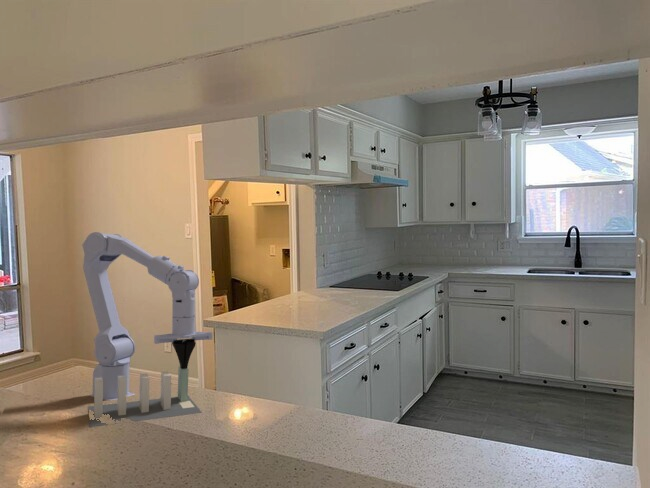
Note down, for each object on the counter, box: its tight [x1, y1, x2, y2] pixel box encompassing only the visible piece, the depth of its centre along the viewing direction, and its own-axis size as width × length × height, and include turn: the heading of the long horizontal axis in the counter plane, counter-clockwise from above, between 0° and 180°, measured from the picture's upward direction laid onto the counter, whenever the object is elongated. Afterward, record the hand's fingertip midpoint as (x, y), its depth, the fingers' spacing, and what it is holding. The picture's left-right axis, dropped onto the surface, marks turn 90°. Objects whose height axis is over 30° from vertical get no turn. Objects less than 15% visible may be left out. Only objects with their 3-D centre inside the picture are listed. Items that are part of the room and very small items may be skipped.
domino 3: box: [138, 373, 150, 413], centre depth 119 cm, size 2×5×8 cm, turn 26°
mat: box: [87, 395, 203, 428], centre depth 119 cm, size 24×17×1 cm
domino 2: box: [116, 375, 127, 415], centre depth 117 cm, size 2×5×8 cm, turn 26°
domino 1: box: [93, 378, 104, 418], centre depth 114 cm, size 2×5×8 cm, turn 26°
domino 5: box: [177, 365, 189, 402], centre depth 128 cm, size 2×5×8 cm, turn 26°
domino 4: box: [160, 371, 172, 410], centre depth 121 cm, size 2×5×8 cm, turn 26°
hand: (183, 369), depth 128 cm, fingers closed, pressing on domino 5
